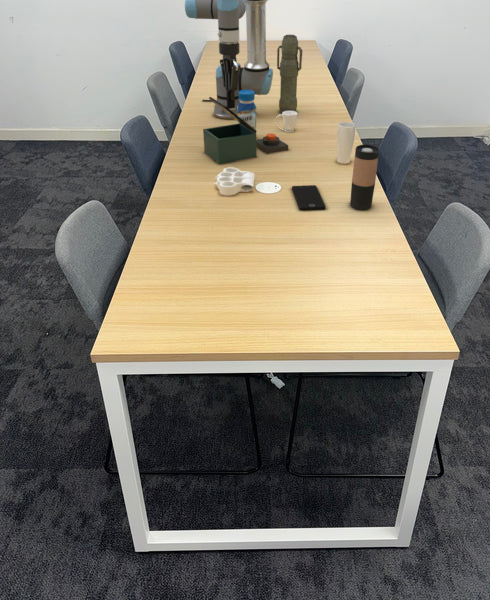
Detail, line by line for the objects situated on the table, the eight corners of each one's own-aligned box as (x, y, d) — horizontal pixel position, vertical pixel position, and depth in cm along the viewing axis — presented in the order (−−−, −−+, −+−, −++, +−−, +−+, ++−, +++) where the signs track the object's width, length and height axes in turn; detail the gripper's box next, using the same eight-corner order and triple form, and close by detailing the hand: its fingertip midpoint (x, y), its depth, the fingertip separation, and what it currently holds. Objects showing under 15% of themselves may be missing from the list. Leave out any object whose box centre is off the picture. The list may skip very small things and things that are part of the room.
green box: (219, 164, 217) (218, 139, 211) (204, 152, 227) (203, 128, 221) (256, 157, 223) (256, 133, 218) (240, 146, 234) (240, 123, 228)
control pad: (253, 145, 235) (253, 135, 233) (274, 141, 239) (274, 132, 237) (267, 154, 226) (267, 144, 224) (288, 150, 230) (288, 140, 228)
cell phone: (299, 210, 184) (299, 207, 183) (291, 188, 198) (291, 185, 198) (325, 209, 184) (325, 206, 184) (315, 187, 199) (315, 184, 198)
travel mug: (347, 201, 190) (353, 144, 178) (369, 200, 191) (376, 144, 179) (351, 211, 184) (358, 153, 172) (374, 210, 184) (382, 152, 173)
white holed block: (253, 196, 193) (211, 195, 193) (255, 176, 207) (216, 175, 207) (252, 187, 191) (210, 186, 191) (255, 167, 205) (215, 166, 205)
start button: (264, 138, 231) (264, 134, 230) (272, 137, 233) (272, 132, 232) (269, 141, 228) (269, 137, 227) (277, 139, 230) (277, 135, 229)
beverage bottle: (259, 137, 243) (260, 90, 232) (251, 143, 237) (251, 95, 225) (242, 134, 246) (242, 88, 234) (234, 140, 240) (232, 92, 228)
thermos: (298, 115, 270) (302, 37, 250) (275, 114, 271) (276, 36, 251) (300, 110, 277) (304, 34, 257) (277, 109, 279) (278, 33, 258)
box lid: (224, 108, 205) (225, 106, 205) (208, 98, 216) (209, 96, 216) (255, 133, 217) (257, 131, 217) (239, 122, 228) (240, 121, 228)
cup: (296, 133, 248) (297, 115, 243) (274, 132, 249) (274, 114, 244) (297, 128, 254) (298, 110, 249) (276, 127, 254) (276, 109, 250)
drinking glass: (353, 160, 222) (357, 122, 213) (349, 166, 217) (353, 128, 208) (337, 158, 224) (340, 120, 215) (333, 163, 218) (336, 126, 210)
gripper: (212, 39, 204) (215, 104, 218) (227, 46, 195) (229, 113, 208) (230, 38, 207) (232, 102, 221) (246, 44, 198) (247, 111, 211)
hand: (230, 107), depth 215 cm, fingers closed
